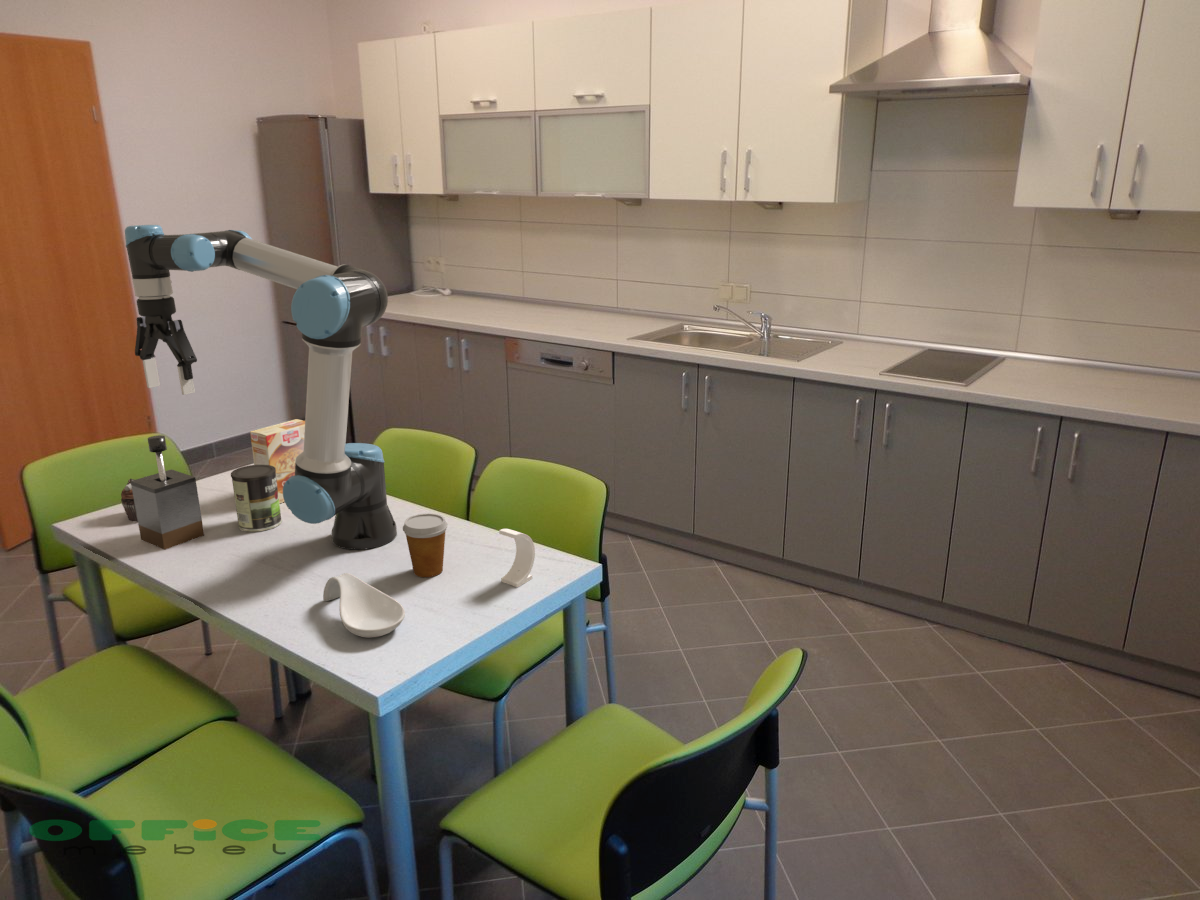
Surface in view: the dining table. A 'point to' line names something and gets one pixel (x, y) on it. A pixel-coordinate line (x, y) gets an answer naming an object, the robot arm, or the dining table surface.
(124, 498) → the cupcake
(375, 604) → the spoon rest
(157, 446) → the plunger
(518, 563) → the headphone stand
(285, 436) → the coffeecake box
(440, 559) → the disposable coffee cup
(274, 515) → the coffee can
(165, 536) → the grey brown upright block
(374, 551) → the dining table surface
